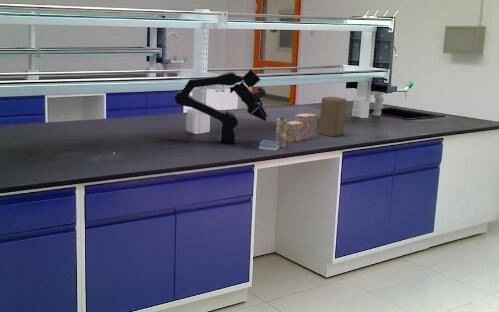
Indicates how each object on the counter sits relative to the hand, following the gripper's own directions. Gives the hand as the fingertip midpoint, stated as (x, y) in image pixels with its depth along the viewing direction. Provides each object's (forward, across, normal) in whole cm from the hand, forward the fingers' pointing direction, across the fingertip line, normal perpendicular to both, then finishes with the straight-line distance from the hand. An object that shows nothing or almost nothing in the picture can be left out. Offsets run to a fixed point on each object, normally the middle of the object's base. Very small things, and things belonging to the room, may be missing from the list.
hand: (266, 118), depth 269 cm
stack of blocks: (+21, +21, -3) cm, 30 cm away
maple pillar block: (+14, +1, +4) cm, 15 cm away
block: (+34, +38, -15) cm, 53 cm away
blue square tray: (+11, -6, +7) cm, 14 cm away
